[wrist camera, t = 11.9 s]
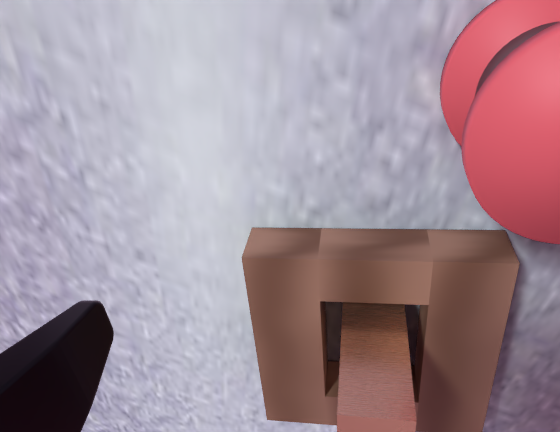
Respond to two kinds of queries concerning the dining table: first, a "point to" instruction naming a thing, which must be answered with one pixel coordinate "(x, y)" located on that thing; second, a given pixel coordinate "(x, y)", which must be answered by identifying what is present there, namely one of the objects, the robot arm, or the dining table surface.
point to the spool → (509, 113)
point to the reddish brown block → (375, 370)
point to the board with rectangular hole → (389, 290)
